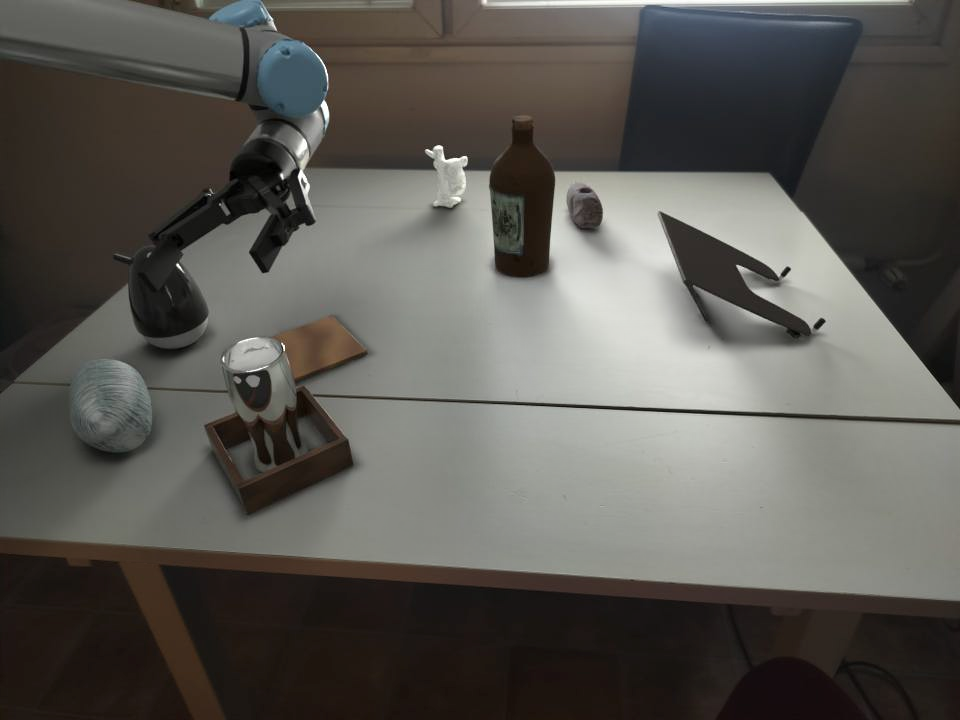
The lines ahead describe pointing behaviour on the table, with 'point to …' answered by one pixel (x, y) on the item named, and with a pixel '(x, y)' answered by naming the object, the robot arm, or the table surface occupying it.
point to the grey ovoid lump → (110, 406)
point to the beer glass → (264, 399)
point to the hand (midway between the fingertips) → (201, 273)
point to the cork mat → (319, 347)
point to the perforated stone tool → (584, 205)
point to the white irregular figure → (448, 177)
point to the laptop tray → (726, 274)
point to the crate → (290, 473)
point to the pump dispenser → (165, 304)
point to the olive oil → (522, 204)
